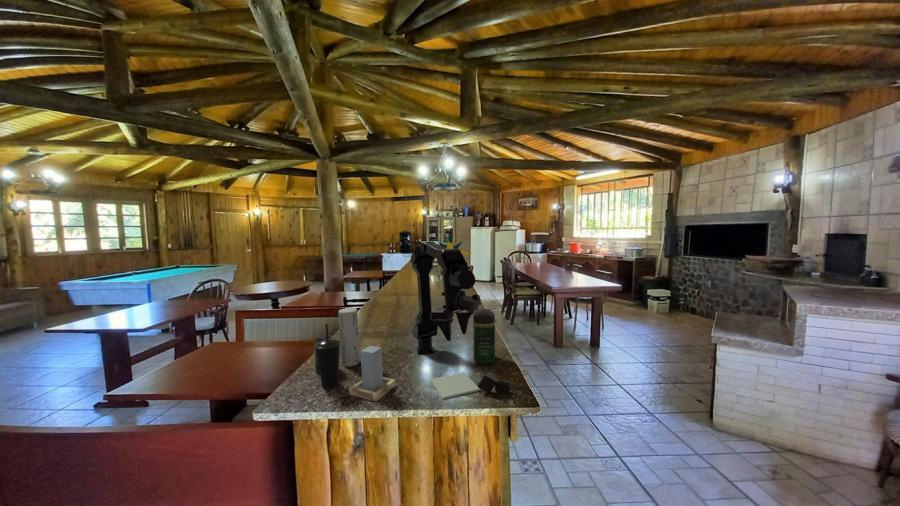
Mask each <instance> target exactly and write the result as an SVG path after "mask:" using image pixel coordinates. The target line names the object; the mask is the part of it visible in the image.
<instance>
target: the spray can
mask: <svg viewBox="0 0 900 506" xmlns="http://www.w3.org/2000/svg"><path fill="white" fill-rule="evenodd" d="M358 323H359V321H358V309H357V308H356V307H347V308H342V309H339V310H338V325H339V327H338V328H339V338H340V339H339V341H340V353H341V354H340V356H341V365H342V366H343V367H347V368H350V367H354V366H357V365H359V363H360V345H359V342H360V341H359V324H358Z"/></svg>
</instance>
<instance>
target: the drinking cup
mask: <svg viewBox="0 0 900 506" xmlns="http://www.w3.org/2000/svg"><path fill="white" fill-rule="evenodd" d="M324 325H325V335H326V339H325V340H322V341H320V342H318V343H315V344H314V347H315V348H316V353H317V359H318V365H319V371H320V373H319V375H320V382H321V388H322V389H326V390H327V389H333V388H335V387H337V386H338V384H339V366H340V365H339V364H340V363H339V362H340V346H341V342H340V339H339V340H338V339H335V338H331V339H328V335H329V329H328V328H329V327H328V325H329V324H328V323H325V324H324Z"/></svg>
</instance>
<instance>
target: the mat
mask: <svg viewBox="0 0 900 506" xmlns="http://www.w3.org/2000/svg"><path fill="white" fill-rule="evenodd" d="M429 382H430V383H431V385H432V386H433V388H434V389H435V391H437V393H438V395H439V396H440V397H441V399H442V400H446V399H449V398H454V397H459V396H463V395H467V393H468V394H472V393H476V392H480V391H481V389H480V388H478V384H476V383H475V382H474V381H473V379H471V378H470V376H469V375H467V373H465V372H458V373H455V374H450V375H444V376H440V377H439V376H438V377H434V378H430V379H429ZM462 394H463V395H462ZM458 395H459V396H458Z"/></svg>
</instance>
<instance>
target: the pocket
mask: <svg viewBox="0 0 900 506" xmlns="http://www.w3.org/2000/svg"><path fill="white" fill-rule="evenodd" d="M396 386H397V380H396V379H395V378H390V377H385V376H383V387H381V388H380V389H379V390H377V391H376V392H372V391H368V390H364V389H363V387H362V379H360V380H359V381H357V382H356V383H355V384H353V385H351V386H350V387H349V388H348V395H349V396H353V397H356V398H361V399H365V400H367V401H368V400H369V401H373V402H377V401H379V400H380V399H381V398H383V397H384V396H385V395H386V394H388V393H389V392H390V391H392V389H394V388H395V387H396Z"/></svg>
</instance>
